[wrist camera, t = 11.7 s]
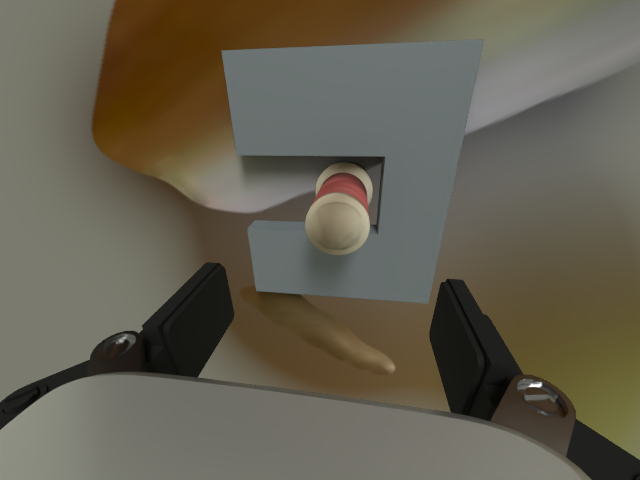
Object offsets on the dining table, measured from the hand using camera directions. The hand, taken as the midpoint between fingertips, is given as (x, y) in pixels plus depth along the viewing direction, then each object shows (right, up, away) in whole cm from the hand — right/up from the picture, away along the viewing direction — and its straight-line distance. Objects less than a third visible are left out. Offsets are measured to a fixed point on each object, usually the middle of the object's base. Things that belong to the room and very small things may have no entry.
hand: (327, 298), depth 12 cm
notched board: (+2, +8, +16) cm, 18 cm away
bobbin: (+2, +8, +16) cm, 18 cm away
